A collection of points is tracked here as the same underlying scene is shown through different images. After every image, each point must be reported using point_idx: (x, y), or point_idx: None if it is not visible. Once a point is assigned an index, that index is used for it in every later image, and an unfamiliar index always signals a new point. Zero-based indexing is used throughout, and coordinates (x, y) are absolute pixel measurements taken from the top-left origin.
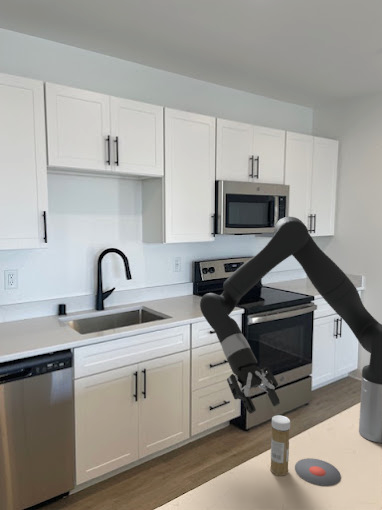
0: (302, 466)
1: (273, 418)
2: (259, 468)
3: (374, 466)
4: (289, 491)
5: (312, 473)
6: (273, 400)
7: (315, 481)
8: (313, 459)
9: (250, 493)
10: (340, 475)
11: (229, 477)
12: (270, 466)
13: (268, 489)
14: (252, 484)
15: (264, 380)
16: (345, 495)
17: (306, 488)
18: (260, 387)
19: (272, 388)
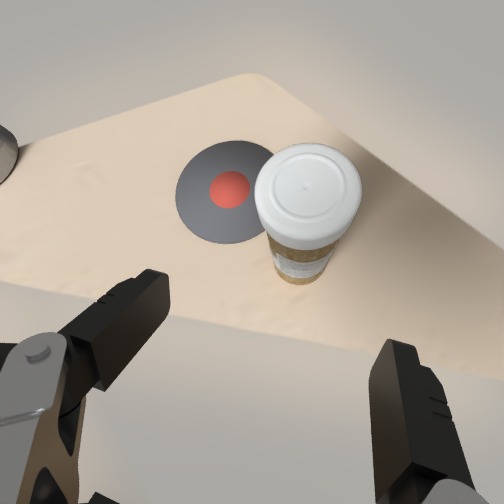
0: (236, 224)
1: (334, 219)
2: (331, 309)
3: (123, 117)
4: None
5: (248, 192)
6: (148, 315)
7: None
8: (186, 218)
9: (451, 266)
10: (209, 147)
11: (447, 356)
12: (310, 281)
13: (394, 240)
14: (413, 283)
15: (4, 478)
16: (270, 115)
17: None
18: (74, 496)
19: (57, 346)
